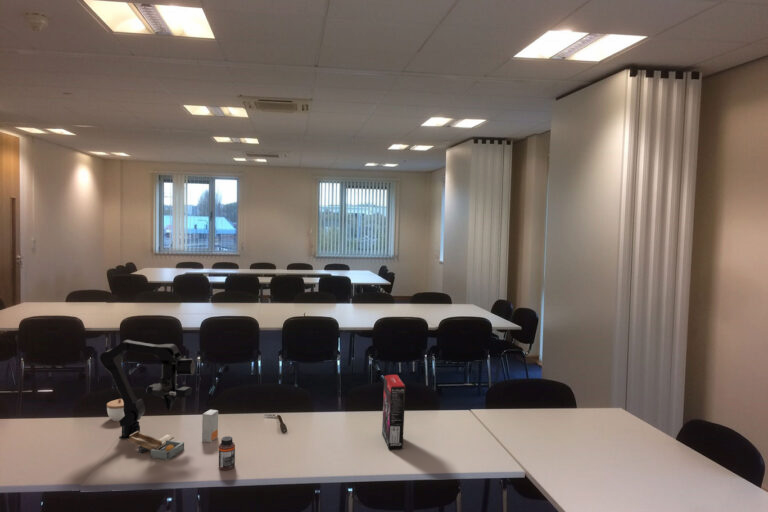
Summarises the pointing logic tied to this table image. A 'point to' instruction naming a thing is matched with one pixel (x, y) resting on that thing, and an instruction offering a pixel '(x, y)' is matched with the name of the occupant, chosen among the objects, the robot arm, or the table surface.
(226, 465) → the supplement bottle
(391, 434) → the graphics card box
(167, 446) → the ball
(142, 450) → the fulcrum
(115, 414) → the lidded jar
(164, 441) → the lever
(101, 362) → the robot arm
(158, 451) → the tray
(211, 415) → the skincare box
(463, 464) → the table surface
